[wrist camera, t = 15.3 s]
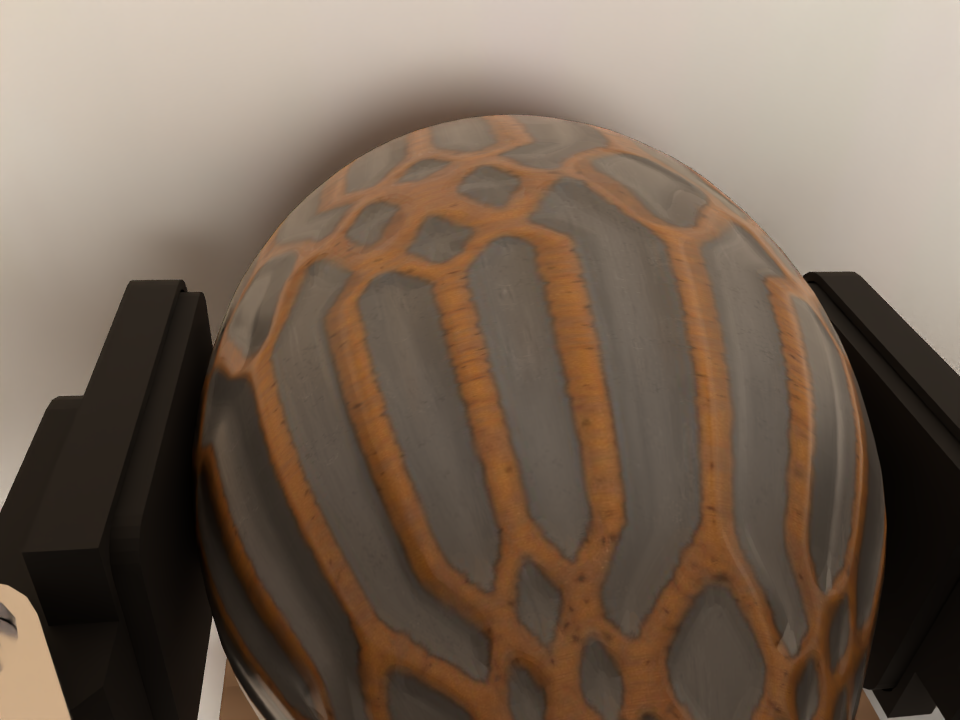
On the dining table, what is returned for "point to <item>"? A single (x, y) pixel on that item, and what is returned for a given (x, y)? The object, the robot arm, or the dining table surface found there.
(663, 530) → the vase
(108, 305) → the dining table surface
